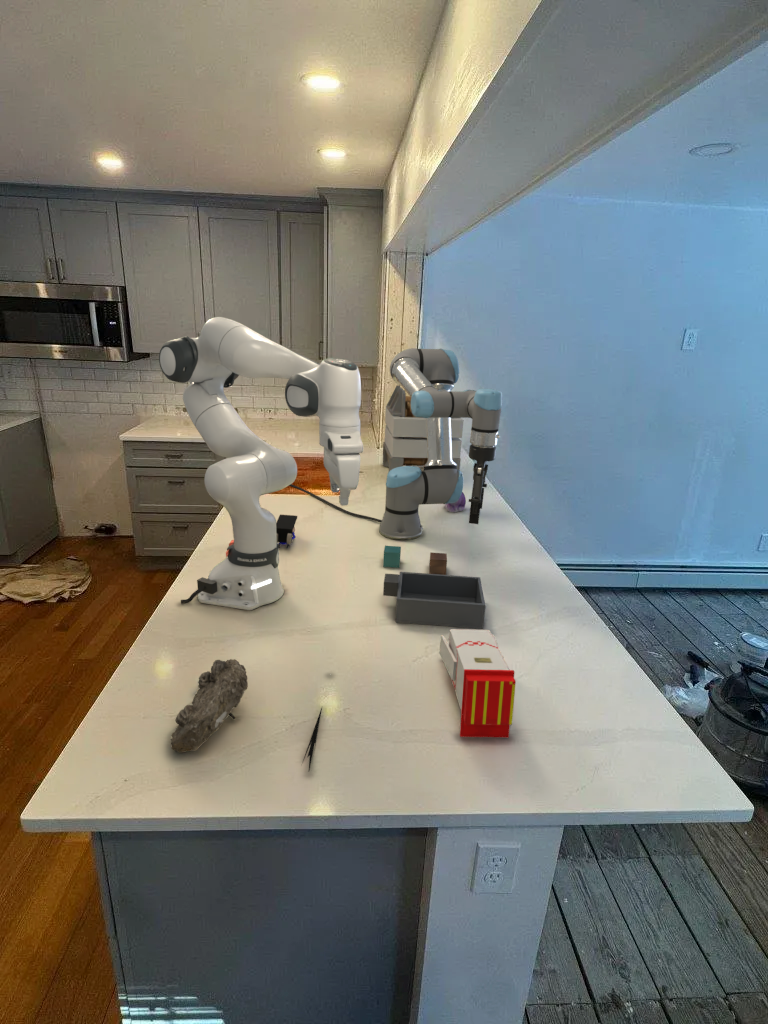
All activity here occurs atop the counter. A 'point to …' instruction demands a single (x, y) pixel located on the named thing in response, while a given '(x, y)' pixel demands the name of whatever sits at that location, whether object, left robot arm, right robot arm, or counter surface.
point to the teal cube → (392, 556)
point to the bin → (437, 599)
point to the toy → (479, 682)
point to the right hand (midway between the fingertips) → (475, 515)
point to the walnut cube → (438, 563)
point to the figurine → (457, 504)
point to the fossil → (210, 704)
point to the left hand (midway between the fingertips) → (339, 497)
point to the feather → (313, 740)
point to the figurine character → (285, 529)
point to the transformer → (411, 434)
